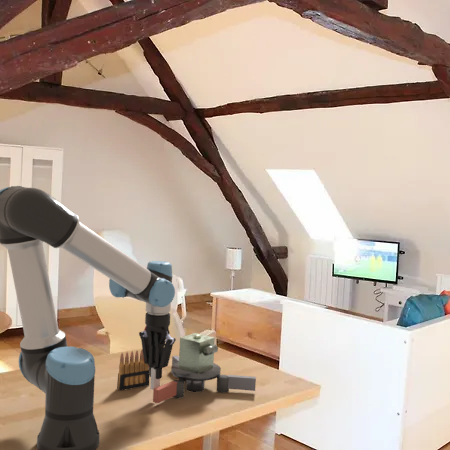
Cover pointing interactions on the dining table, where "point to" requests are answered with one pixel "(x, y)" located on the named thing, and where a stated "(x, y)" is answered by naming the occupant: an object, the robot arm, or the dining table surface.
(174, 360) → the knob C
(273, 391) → the dining table surface
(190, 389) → the tribrach
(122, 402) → the dining table surface
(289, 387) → the dining table surface
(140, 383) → the ammunition clip
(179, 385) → the red piece
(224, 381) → the knob
